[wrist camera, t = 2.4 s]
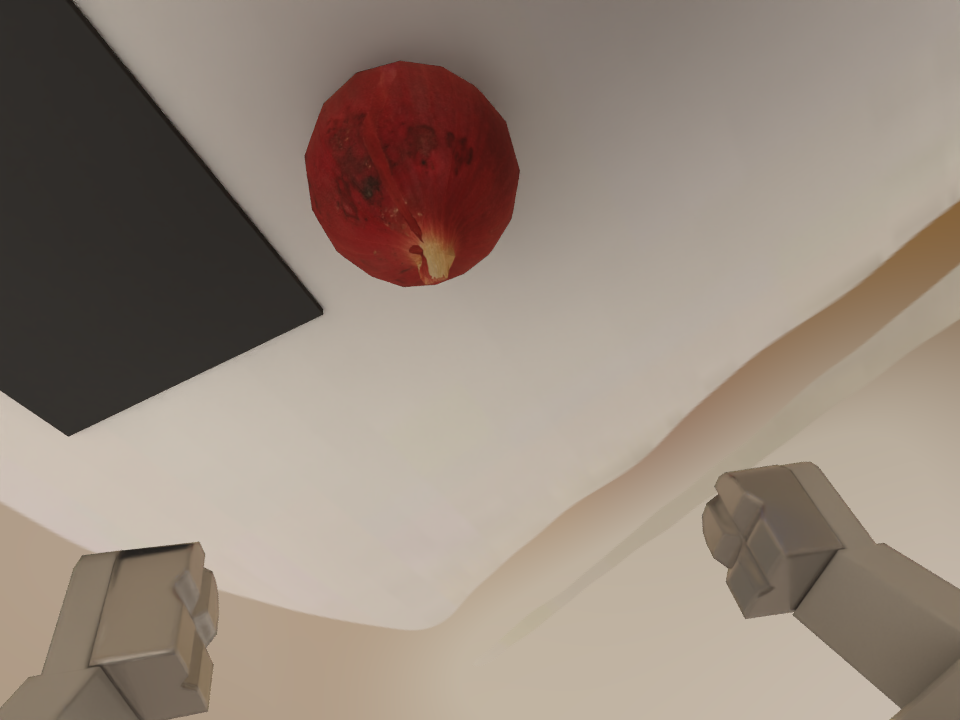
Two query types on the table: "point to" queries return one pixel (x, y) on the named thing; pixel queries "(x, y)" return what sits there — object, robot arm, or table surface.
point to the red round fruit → (411, 173)
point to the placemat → (114, 235)
